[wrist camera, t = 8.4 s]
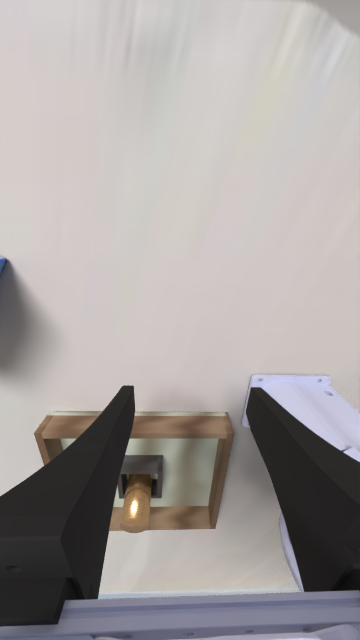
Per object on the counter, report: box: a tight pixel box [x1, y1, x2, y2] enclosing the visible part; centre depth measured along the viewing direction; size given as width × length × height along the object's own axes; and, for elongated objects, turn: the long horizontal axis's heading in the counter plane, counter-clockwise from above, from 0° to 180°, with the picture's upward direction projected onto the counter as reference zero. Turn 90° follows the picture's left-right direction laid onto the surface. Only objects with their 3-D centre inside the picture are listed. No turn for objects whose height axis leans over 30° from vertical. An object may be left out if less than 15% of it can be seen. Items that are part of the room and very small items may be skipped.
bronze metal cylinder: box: [120, 474, 153, 533], centre depth 25 cm, size 3×3×6 cm
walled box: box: [34, 411, 234, 531], centre depth 27 cm, size 22×20×3 cm
